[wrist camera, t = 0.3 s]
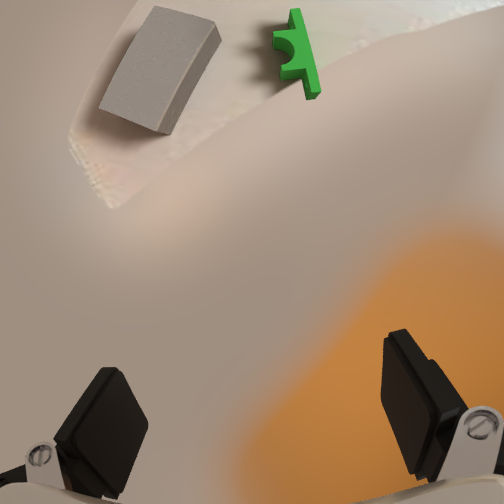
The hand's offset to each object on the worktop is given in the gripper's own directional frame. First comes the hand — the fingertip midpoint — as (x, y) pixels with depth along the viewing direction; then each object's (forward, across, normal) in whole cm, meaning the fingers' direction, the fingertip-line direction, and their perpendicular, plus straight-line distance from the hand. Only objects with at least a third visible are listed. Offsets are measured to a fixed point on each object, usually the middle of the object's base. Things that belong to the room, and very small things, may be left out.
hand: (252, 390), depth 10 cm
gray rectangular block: (+30, +8, -21) cm, 37 cm away
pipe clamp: (+30, -8, -20) cm, 37 cm away
